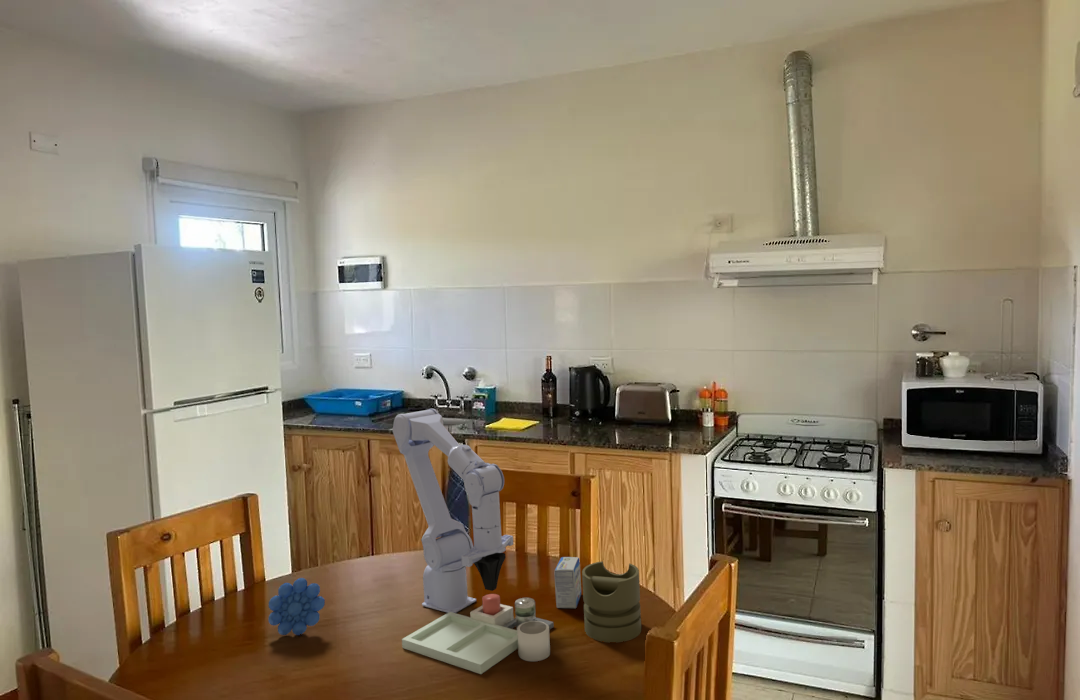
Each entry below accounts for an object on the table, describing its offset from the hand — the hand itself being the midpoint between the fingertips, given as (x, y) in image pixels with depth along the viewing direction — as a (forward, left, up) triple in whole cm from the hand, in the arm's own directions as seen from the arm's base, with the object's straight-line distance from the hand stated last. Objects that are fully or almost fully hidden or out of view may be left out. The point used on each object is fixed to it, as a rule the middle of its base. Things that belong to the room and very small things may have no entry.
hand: (490, 588), depth 152 cm
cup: (+15, -6, -7) cm, 18 cm away
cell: (+8, +1, -8) cm, 11 cm away
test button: (0, 0, -6) cm, 6 cm away
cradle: (+8, +1, -7) cm, 11 cm away
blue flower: (-33, -23, -8) cm, 41 cm away
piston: (+23, +10, -8) cm, 26 cm away
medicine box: (+8, +17, -8) cm, 20 cm away
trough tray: (+1, -10, -7) cm, 13 cm away
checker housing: (0, 0, -7) cm, 7 cm away
